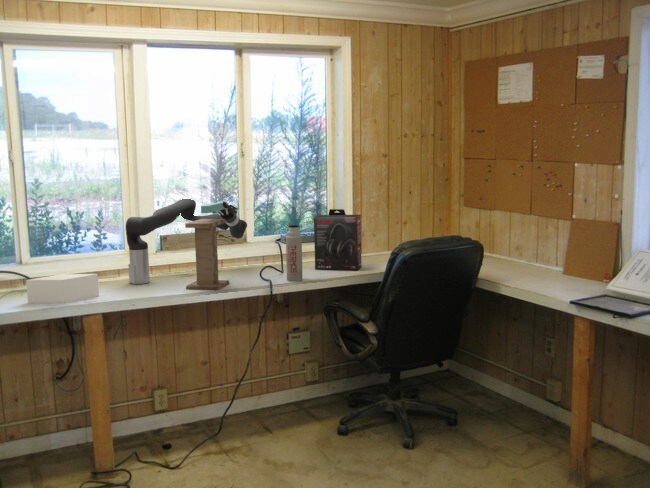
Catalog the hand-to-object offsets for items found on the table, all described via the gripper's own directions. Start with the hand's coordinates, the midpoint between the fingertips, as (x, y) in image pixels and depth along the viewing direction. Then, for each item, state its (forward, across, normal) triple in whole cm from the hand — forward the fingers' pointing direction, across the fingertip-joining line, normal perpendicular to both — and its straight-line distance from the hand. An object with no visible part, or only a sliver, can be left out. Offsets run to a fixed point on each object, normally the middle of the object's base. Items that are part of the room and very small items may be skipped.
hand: (219, 203), depth 333 cm
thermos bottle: (-21, -38, -33) cm, 55 cm away
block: (+27, +55, -62) cm, 87 cm away
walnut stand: (-4, 0, -43) cm, 43 cm away
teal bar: (+5, 0, -7) cm, 8 cm away
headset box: (-51, -55, -16) cm, 76 cm away
